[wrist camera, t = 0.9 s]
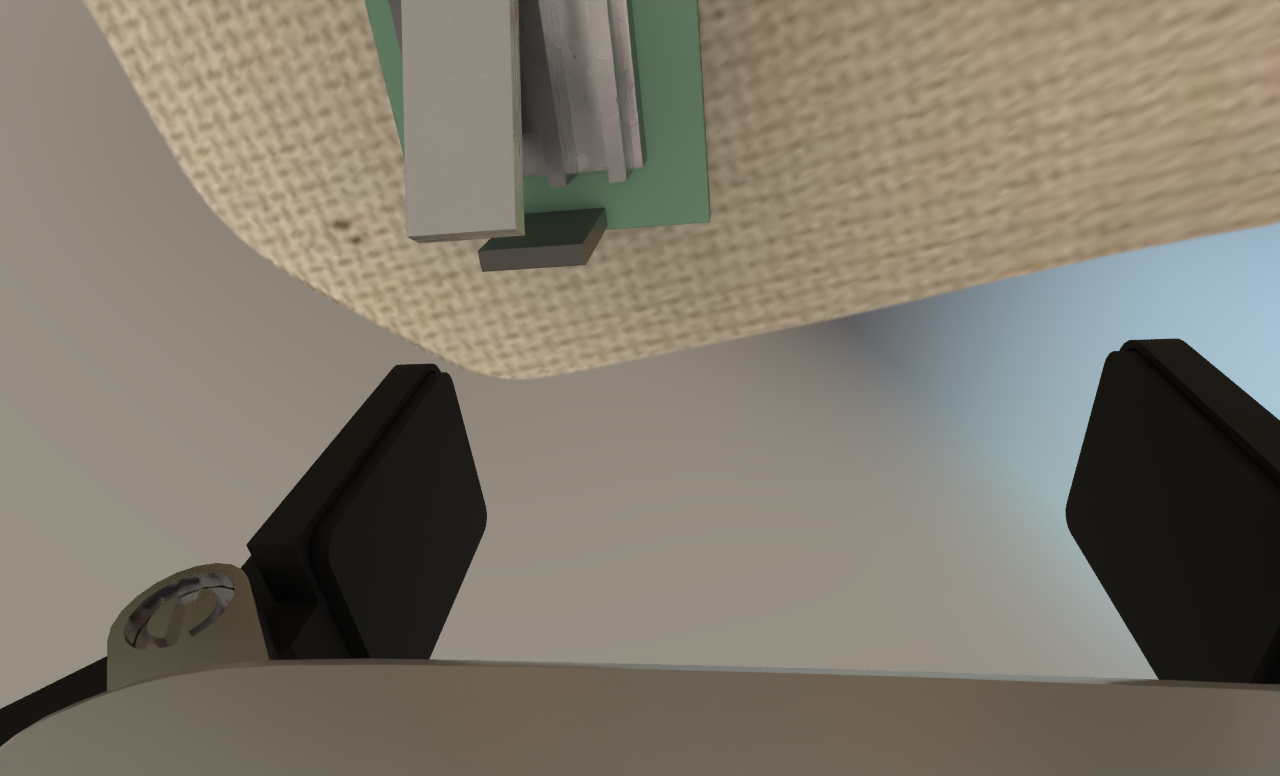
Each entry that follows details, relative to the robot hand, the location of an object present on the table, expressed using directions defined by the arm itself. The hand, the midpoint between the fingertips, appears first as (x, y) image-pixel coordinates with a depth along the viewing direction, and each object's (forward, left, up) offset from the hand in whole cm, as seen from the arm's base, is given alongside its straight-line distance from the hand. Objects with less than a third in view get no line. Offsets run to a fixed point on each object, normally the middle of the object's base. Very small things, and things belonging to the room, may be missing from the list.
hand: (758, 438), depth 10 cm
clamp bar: (-6, -10, -19) cm, 23 cm away
